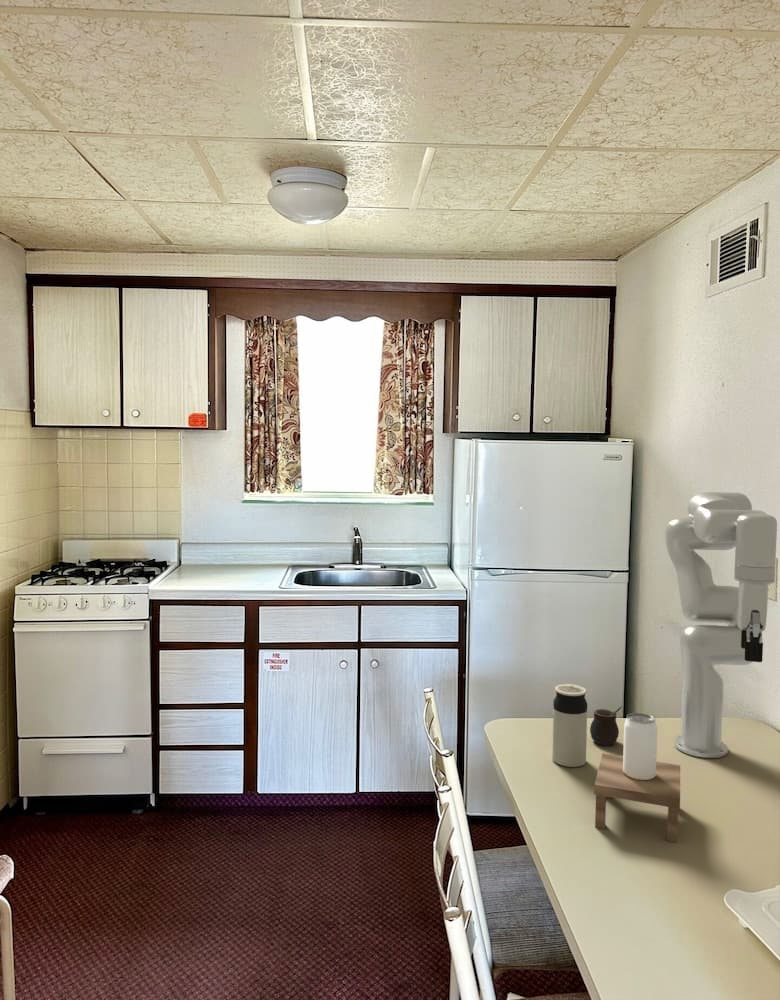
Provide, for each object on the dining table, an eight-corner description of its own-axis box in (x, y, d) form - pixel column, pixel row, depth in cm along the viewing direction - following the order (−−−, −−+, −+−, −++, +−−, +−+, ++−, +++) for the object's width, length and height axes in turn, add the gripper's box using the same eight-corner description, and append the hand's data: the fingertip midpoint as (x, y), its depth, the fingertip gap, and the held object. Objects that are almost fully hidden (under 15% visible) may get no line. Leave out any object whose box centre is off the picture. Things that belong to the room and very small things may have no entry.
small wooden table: (601, 792, 163) (602, 753, 163) (678, 805, 157) (680, 765, 157) (593, 827, 148) (594, 784, 148) (678, 843, 143) (680, 798, 142)
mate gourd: (587, 735, 195) (589, 699, 194) (617, 737, 194) (618, 700, 193) (591, 746, 188) (592, 708, 187) (621, 749, 187) (623, 710, 186)
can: (658, 782, 149) (660, 724, 148) (624, 779, 150) (626, 722, 149) (653, 768, 155) (655, 713, 154) (621, 766, 156) (622, 710, 155)
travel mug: (580, 771, 174) (581, 696, 173) (547, 763, 178) (549, 690, 177) (590, 758, 181) (591, 687, 179) (558, 751, 185) (560, 681, 184)
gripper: (731, 566, 162) (728, 642, 163) (737, 579, 146) (734, 664, 147) (770, 568, 159) (766, 646, 160) (780, 582, 143) (776, 668, 144)
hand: (751, 654), depth 154 cm, fingers open, 9 cm apart
